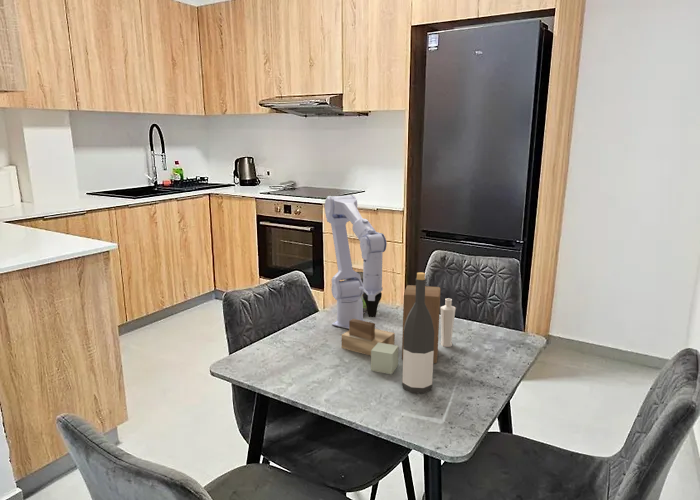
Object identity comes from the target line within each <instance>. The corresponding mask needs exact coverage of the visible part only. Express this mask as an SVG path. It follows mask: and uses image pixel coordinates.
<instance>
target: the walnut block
mask: <svg viewBox="0 0 700 500" xmlns="http://www.w3.org/2000/svg"><path fill="white" fill-rule="evenodd" d="M375 329H376V323H375V322H371V321H366V320H365V321H362V320H357V319H352V320H350V321H349V329H348V331H349V337H353V338H357V339H361V340H366V341H370V342H372V341H373V340H374V339H375Z"/></svg>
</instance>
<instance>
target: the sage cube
mask: <svg viewBox="0 0 700 500" xmlns="http://www.w3.org/2000/svg"><path fill="white" fill-rule="evenodd" d="M399 349H400V347H399V345H398V344H397V345H395V344H394V345H391V344H385V343H377V344H376V346H375V347H374V348H373V349H372V350H371V356H370V371H371V372H378V373H383V374H387V375H388V374H389V375H393V373H394V372H395V371H396V369H397V368H398V367H399Z"/></svg>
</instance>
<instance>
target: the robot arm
mask: <svg viewBox="0 0 700 500" xmlns="http://www.w3.org/2000/svg"><path fill="white" fill-rule="evenodd" d="M324 213H325V218H326V222H327V223H329V224H330V227H331V233H332V239H333V245H334V253H335V259H336V265H337V272H336V273H335V274H334V275H333V277H331V294H332V297H333V299H335V300H336V321H334V322H332V323H331V325H332V326H335V327H339V328H344V329H348V330H349V321H350V320H352V319H357V320H362V321H366V320H365V319H364V313H363V302H362V300H361V298H360V297H361V296H362V295H363V299H364V301H365V303H366V306H367V312H366V313H367V315H368V317H369V318H376V316H377V312H378V306H379V303H380V301H381V299H382V292H383V254H384V252H386V251H387V238H386V236H385V234H384V233H383V232H379V231H377V230H376V229H375V228H374V226H372V224H371V222H370V221H369V220H368V219H367V218H363V216H362V214H361V213H360V211H359V209H358V199H357V198H356V196H355V195H353V194H350V195H336V196H335V195H334V196H333V195H332V196H331V195H327V197H326V199H325V200H324ZM348 222H350V223H351V224H352V231H353V234H355V236H356V238H357V239H358V241H359V247H360V251H361V259H362V260H363V263H362V264H363V265H362V267H363V269H362V272H363V283H362V281H361V277H360V274H358V273H357V272H358V271H355V270H354V269H353V263H352V257H351V249H350V243H349V237H348V230H347V223H348ZM345 279H352V280H345ZM344 280H345V281H344ZM363 292H365V293H363Z"/></svg>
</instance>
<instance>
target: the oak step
mask: <svg viewBox="0 0 700 500" xmlns="http://www.w3.org/2000/svg"><path fill="white" fill-rule="evenodd" d="M395 335H396V333H395V332H391V331H388V330H383V329H379V328H375V339H374V340H373V341H372V342H370V341H366V340H361V339H357V338H353V337H349V330H346V331H345V332H344V333H343V334H342V333H341V349H344V350H348V351H352V352H356V353H360V354H364V355H367V356H370V357H371V350H372V349H373V348H374V347H375V346H376V344H377V343H385V344H391V345H395V341H396V340H395V339H396V337H395Z"/></svg>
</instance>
